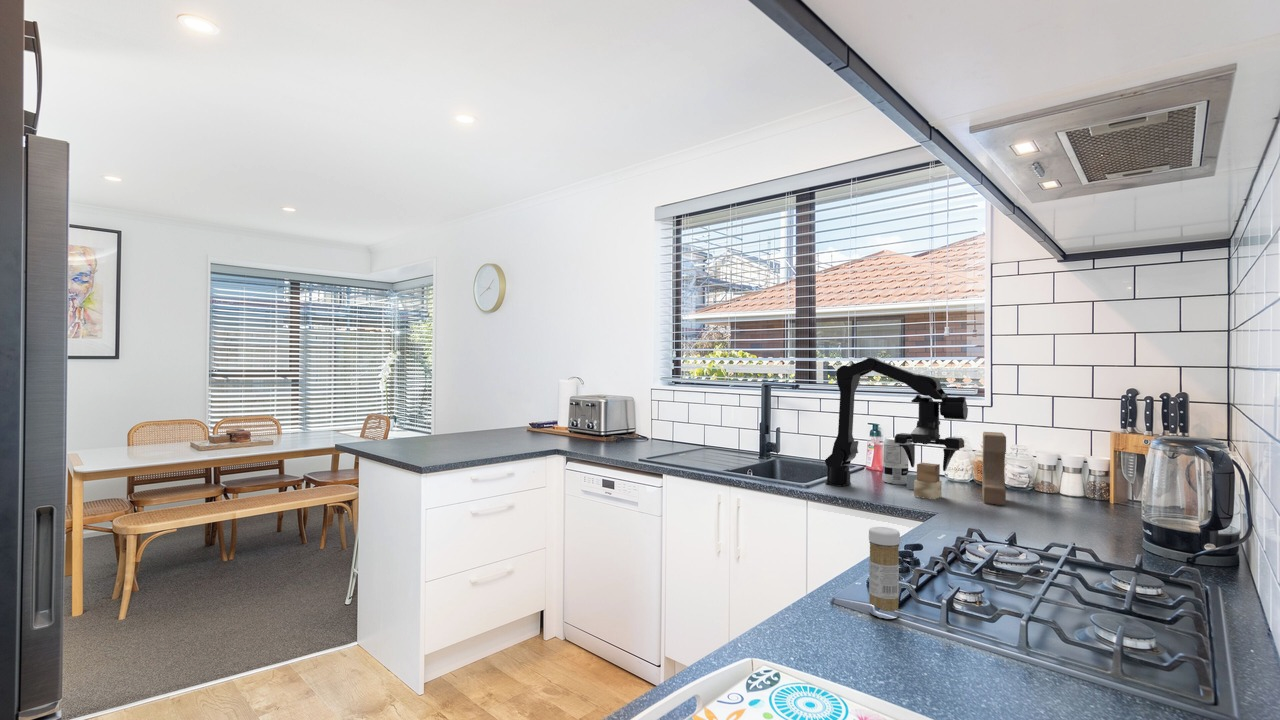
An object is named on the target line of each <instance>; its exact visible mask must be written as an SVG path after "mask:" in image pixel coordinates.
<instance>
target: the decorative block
mask: <svg viewBox="0 0 1280 720" xmlns="http://www.w3.org/2000/svg"><path fill="white" fill-rule="evenodd" d="M1006 453H1007V436H1006V435H1005V434H1004V433H1003V432H996V431H995V432H993V431H983V432H982V480H981V481H982V485H981V487H982V491H981V492H982V493H981V495H982V501H983V504H986V505H993V504H996V505H997V506H1003V505H1004V506H1006V504H1007V501H1006V499H1007V498H1006V493H1007V492H1006V491H1007V489H1006V480H1005V477H1006V476H1005V461H1006V460H1005V459H1006Z"/></svg>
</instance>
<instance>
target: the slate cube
mask: <svg viewBox="0 0 1280 720" xmlns="http://www.w3.org/2000/svg"><path fill="white" fill-rule="evenodd" d="M914 480H917V472H914V471H908V473H907V483H906V490H908V489H914Z"/></svg>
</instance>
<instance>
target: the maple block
mask: <svg viewBox="0 0 1280 720" xmlns="http://www.w3.org/2000/svg"><path fill="white" fill-rule="evenodd" d="M942 482H943V481H942V480H940V481H938V482H935V483H931V482H923V481H917V480H914V490H913V497H914V496H918V497H917V498H920V497H924V498H923V499H926V498H931V499H930V500H933V499H935V500H937V499H936V498H938V499H940V498H942V484H943V483H942ZM939 497H940V498H939Z"/></svg>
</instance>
